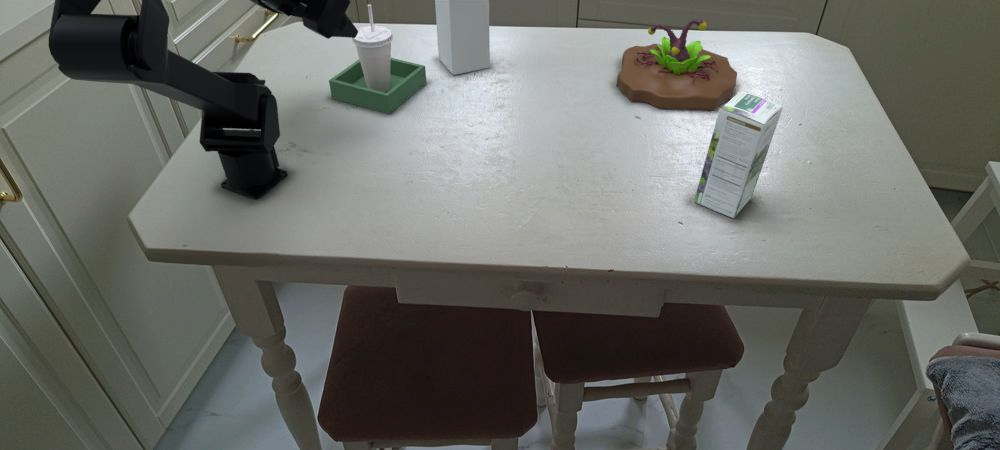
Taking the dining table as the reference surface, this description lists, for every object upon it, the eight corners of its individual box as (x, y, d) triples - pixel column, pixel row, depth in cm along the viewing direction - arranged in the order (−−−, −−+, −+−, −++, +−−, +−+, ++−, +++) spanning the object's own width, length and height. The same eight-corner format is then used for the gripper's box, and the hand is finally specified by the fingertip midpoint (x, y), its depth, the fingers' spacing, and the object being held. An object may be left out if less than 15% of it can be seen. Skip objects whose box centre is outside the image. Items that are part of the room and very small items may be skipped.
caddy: (389, 114, 102) (387, 95, 100) (331, 98, 106) (328, 80, 104) (426, 83, 110) (425, 65, 108) (371, 69, 114) (369, 52, 112)
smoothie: (402, 80, 110) (393, -1, 101) (393, 99, 105) (383, 15, 96) (365, 78, 110) (354, -3, 101) (354, 96, 105) (341, 13, 96)
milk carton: (438, 59, 117) (431, -49, 105) (474, 52, 119) (471, -55, 107) (452, 76, 112) (447, -35, 100) (490, 68, 114) (489, -42, 102)
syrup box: (711, 182, 89) (737, 88, 79) (753, 199, 86) (784, 103, 76) (693, 202, 85) (717, 106, 76) (735, 220, 82) (766, 123, 73)
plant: (735, 118, 101) (753, 52, 94) (611, 102, 105) (619, 37, 98) (733, 63, 116) (749, 2, 109) (625, 50, 120) (633, -10, 113)
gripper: (325, -74, 77) (403, -8, 90) (242, -101, 87) (324, -38, 100) (283, 9, 78) (367, 63, 91) (205, -27, 87) (291, 26, 101)
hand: (337, 25), depth 96 cm, fingers open, 9 cm apart
